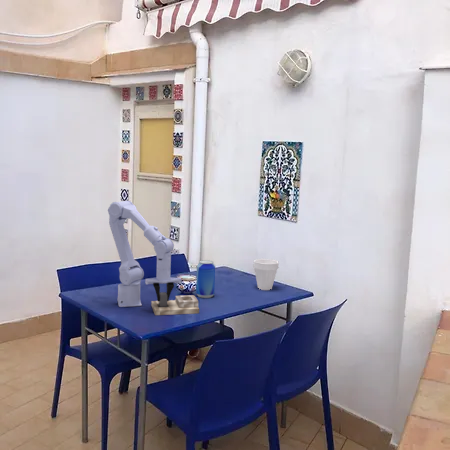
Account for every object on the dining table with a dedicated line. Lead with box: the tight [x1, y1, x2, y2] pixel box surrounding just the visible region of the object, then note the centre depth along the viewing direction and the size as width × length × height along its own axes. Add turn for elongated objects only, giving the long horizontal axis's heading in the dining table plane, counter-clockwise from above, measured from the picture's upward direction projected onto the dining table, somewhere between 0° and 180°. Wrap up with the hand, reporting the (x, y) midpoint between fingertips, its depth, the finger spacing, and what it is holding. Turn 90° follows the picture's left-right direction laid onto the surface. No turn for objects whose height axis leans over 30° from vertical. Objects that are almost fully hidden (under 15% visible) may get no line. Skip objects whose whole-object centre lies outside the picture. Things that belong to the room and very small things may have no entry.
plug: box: [159, 291, 167, 307], centre depth 213 cm, size 3×4×6 cm
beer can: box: [195, 259, 216, 299], centre depth 235 cm, size 8×8×16 cm
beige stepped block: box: [150, 294, 200, 316], centre depth 214 cm, size 18×13×4 cm
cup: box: [253, 258, 280, 291], centre depth 252 cm, size 12×12×14 cm
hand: (162, 300), depth 213 cm, fingers closed on plug, 3 cm apart
